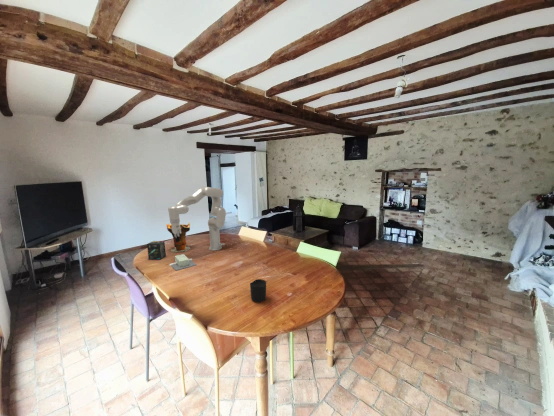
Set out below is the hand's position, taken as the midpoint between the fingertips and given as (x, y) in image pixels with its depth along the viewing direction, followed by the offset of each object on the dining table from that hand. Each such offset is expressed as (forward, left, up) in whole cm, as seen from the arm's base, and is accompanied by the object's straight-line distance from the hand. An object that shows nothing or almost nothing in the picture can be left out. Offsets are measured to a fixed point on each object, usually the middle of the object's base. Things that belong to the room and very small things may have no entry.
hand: (177, 241), depth 194 cm
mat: (+1, +16, -17) cm, 23 cm away
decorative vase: (-10, -29, -17) cm, 35 cm away
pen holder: (-16, +96, -17) cm, 99 cm away
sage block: (+1, +6, -12) cm, 14 cm away
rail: (+1, +9, -17) cm, 19 cm away
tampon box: (+13, -19, -17) cm, 29 cm away
